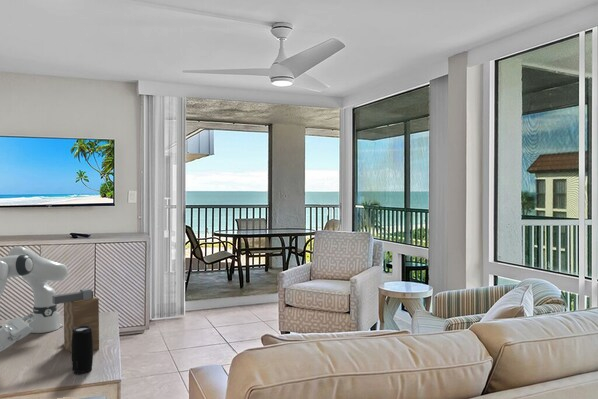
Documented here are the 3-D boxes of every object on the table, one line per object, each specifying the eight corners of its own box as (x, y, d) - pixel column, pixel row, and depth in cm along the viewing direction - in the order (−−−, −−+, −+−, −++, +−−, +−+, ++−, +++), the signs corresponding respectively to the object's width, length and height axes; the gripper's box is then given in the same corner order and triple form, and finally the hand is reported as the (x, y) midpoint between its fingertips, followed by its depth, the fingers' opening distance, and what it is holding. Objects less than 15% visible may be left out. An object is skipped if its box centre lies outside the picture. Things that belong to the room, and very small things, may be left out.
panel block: (64, 347, 238) (63, 297, 237) (88, 342, 246) (87, 293, 245) (74, 355, 227) (73, 302, 226) (99, 349, 235) (98, 298, 234)
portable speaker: (83, 366, 213) (83, 323, 213) (97, 369, 209) (97, 326, 208) (66, 372, 205) (66, 328, 205) (80, 376, 201) (80, 331, 201)
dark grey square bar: (52, 302, 225) (52, 293, 225) (90, 296, 237) (90, 287, 237) (55, 304, 222) (54, 295, 221) (93, 298, 234) (93, 289, 234)
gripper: (7, 336, 201) (37, 315, 209) (-4, 326, 216) (25, 307, 224) (15, 347, 203) (45, 326, 211) (4, 336, 218) (33, 317, 226)
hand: (35, 316), depth 218 cm, fingers open, 8 cm apart
